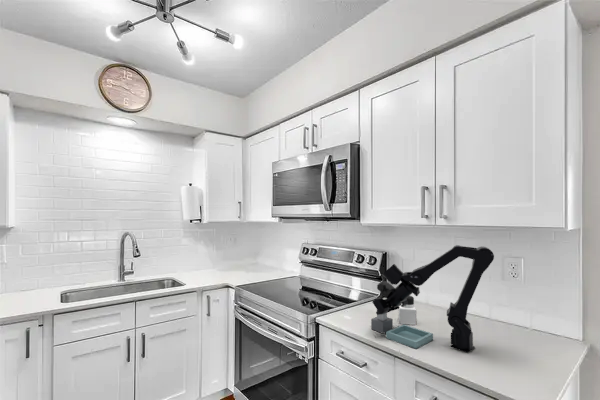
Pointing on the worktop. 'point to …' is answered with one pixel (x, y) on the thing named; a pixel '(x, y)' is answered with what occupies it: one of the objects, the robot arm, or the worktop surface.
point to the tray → (409, 336)
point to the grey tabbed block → (382, 323)
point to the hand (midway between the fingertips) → (379, 313)
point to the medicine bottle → (407, 312)
